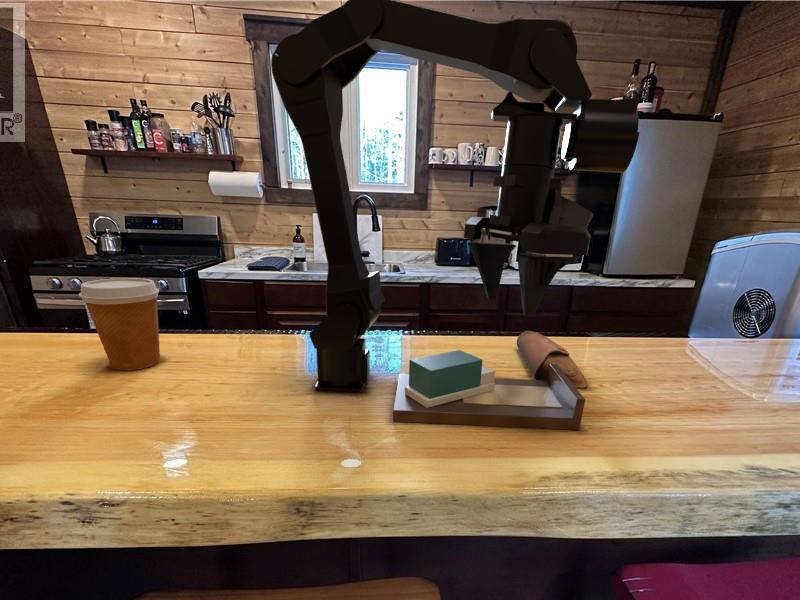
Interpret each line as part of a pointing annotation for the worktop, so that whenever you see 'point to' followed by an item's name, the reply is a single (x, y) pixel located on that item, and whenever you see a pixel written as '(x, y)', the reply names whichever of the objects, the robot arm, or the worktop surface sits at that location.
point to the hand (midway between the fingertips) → (508, 306)
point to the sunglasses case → (548, 358)
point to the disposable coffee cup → (125, 320)
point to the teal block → (447, 378)
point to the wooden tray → (503, 404)
